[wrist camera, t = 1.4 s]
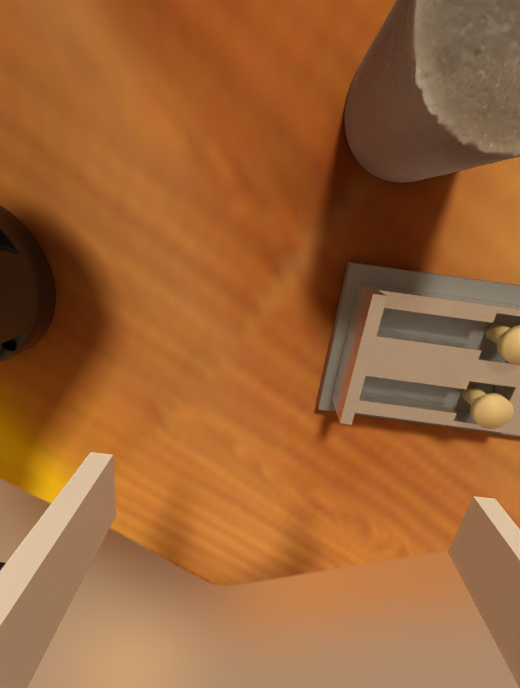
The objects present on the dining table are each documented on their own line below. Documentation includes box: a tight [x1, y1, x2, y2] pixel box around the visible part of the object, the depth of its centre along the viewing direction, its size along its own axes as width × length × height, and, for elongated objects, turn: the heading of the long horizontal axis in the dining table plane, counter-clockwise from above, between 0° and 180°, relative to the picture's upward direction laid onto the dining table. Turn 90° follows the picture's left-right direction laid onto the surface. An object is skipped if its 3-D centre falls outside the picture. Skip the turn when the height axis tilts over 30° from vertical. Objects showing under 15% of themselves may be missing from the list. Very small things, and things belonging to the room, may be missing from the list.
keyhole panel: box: [332, 283, 520, 435], centre depth 28 cm, size 17×11×4 cm, turn 83°
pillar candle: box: [344, 0, 520, 183], centre depth 18 cm, size 10×10×15 cm
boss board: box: [317, 262, 520, 436], centre depth 29 cm, size 28×14×5 cm, turn 83°
